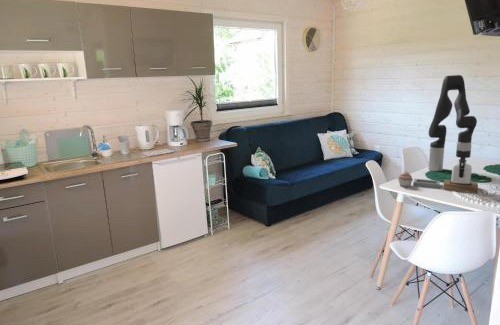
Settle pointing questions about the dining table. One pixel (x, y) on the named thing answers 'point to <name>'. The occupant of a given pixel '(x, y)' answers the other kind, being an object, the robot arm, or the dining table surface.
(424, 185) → the holster
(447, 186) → the dock
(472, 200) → the dining table surface
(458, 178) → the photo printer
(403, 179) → the cupcake
